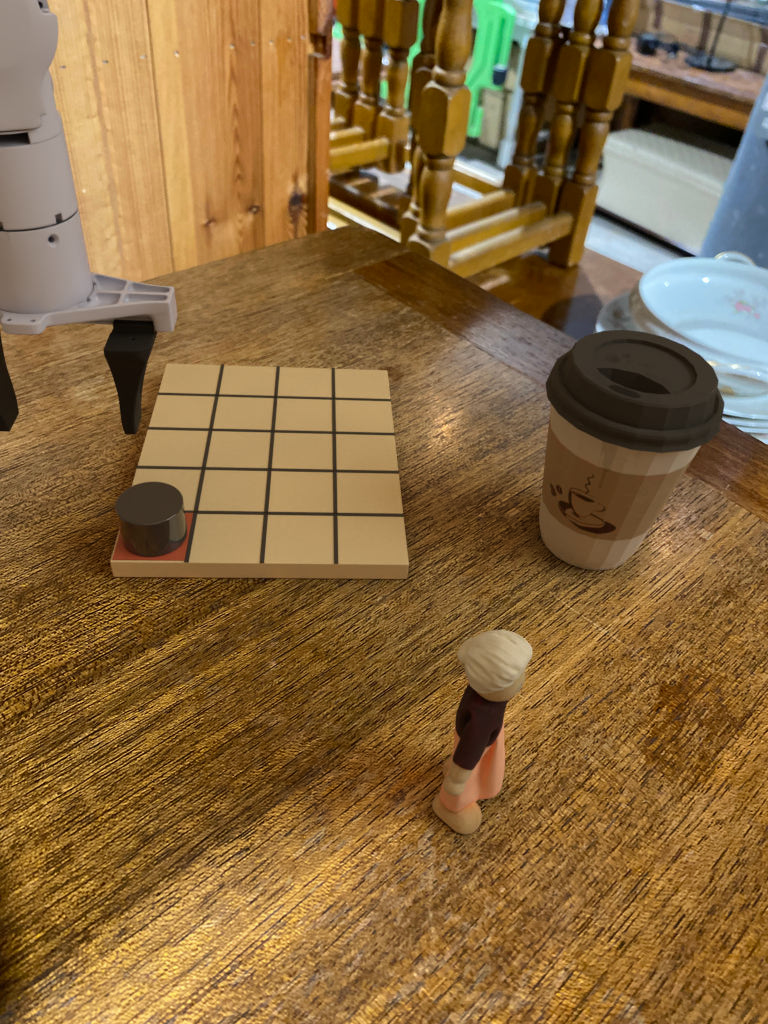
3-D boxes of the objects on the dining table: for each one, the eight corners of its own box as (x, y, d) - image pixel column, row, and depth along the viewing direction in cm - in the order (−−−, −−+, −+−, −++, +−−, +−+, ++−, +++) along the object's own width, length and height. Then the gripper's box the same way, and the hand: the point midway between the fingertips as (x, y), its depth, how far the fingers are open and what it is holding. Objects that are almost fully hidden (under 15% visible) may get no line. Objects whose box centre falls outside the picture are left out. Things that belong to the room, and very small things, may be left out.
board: (113, 577, 53) (109, 560, 52) (168, 377, 71) (166, 362, 70) (407, 579, 54) (409, 563, 53) (386, 383, 73) (387, 369, 72)
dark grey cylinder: (115, 557, 52) (108, 524, 50) (128, 513, 55) (121, 480, 53) (183, 557, 52) (178, 525, 50) (191, 513, 56) (187, 481, 54)
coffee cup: (486, 549, 57) (524, 373, 47) (546, 471, 65) (590, 305, 55) (634, 617, 53) (711, 440, 43) (680, 525, 61) (754, 357, 51)
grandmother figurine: (495, 859, 40) (547, 720, 32) (421, 845, 40) (454, 703, 32) (502, 731, 46) (548, 584, 37) (438, 719, 46) (469, 571, 38)
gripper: (-163, 234, 37) (-72, 460, 46) (150, 248, 38) (179, 465, 47) (-103, 181, 42) (-32, 393, 51) (171, 195, 43) (193, 399, 52)
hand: (71, 423), depth 50 cm, fingers open, 7 cm apart
